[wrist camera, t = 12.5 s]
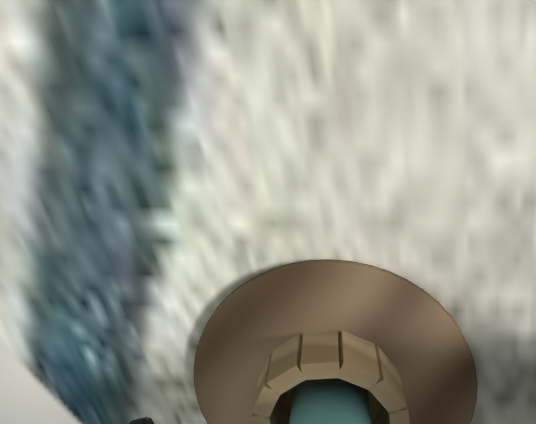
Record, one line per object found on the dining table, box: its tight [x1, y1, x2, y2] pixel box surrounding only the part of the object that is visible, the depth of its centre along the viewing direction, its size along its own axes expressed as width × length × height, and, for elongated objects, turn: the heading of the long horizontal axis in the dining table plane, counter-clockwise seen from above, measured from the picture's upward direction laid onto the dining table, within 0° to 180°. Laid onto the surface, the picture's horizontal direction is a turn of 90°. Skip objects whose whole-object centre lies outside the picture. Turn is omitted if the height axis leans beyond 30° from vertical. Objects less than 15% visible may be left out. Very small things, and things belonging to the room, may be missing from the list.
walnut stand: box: [194, 260, 477, 424], centre depth 26 cm, size 17×17×4 cm
